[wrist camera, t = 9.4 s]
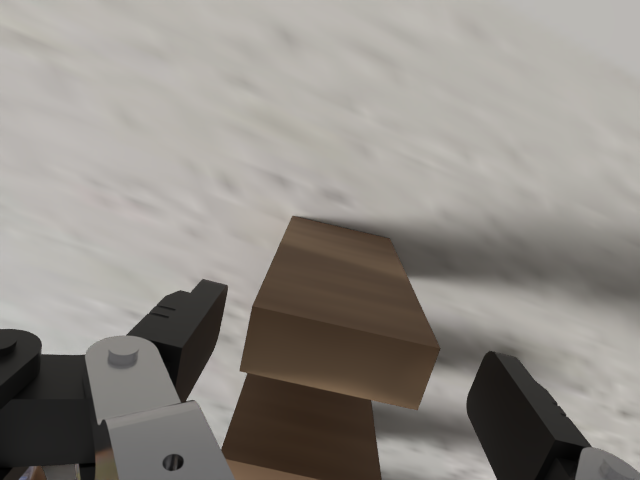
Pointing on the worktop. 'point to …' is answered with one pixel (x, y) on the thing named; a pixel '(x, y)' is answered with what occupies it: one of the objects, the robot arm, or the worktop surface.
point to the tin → (34, 473)
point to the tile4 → (300, 434)
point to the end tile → (340, 318)
